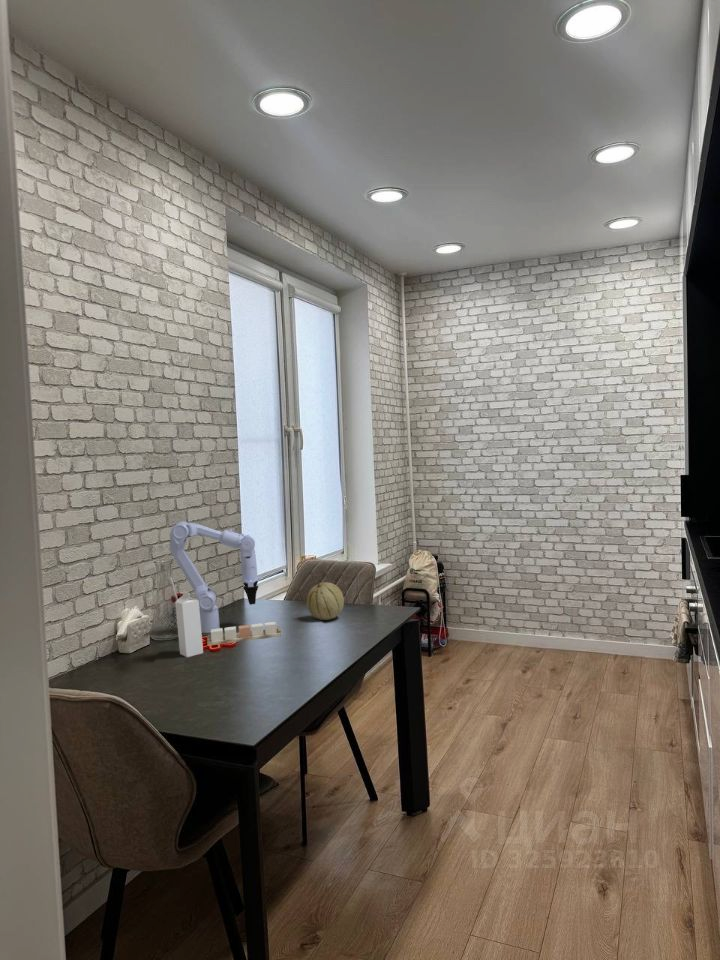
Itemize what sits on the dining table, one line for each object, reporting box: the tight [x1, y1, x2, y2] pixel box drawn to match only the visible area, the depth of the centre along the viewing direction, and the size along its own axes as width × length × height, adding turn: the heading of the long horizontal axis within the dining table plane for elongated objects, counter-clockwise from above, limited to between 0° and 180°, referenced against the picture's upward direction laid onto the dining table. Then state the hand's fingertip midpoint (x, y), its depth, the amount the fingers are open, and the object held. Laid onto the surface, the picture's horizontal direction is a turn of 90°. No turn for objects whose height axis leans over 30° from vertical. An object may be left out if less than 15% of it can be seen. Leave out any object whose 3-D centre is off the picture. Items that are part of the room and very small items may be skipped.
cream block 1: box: [210, 627, 224, 641], centre depth 242 cm, size 4×4×4 cm
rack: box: [206, 625, 282, 646], centre depth 244 cm, size 26×8×3 cm, turn 101°
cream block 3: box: [250, 622, 264, 636], centre depth 245 cm, size 4×4×4 cm
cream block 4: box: [264, 621, 277, 635], centre depth 246 cm, size 4×4×4 cm
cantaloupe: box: [306, 581, 345, 621], centre depth 264 cm, size 15×15×15 cm
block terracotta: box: [238, 624, 251, 638], centre depth 244 cm, size 4×4×4 cm
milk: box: [174, 590, 204, 658], centre depth 229 cm, size 6×6×22 cm
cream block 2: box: [224, 626, 237, 640], centre depth 243 cm, size 4×4×4 cm
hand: (252, 602), depth 261 cm, fingers open, 7 cm apart
